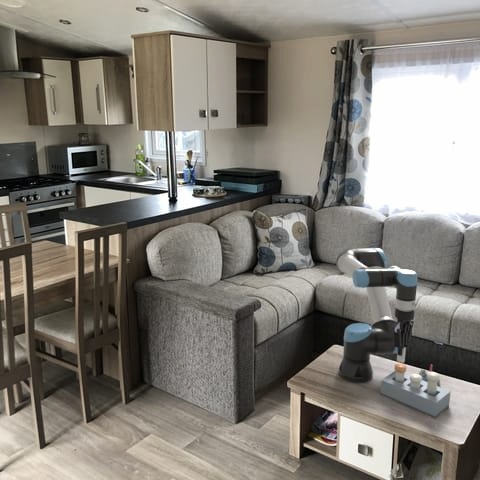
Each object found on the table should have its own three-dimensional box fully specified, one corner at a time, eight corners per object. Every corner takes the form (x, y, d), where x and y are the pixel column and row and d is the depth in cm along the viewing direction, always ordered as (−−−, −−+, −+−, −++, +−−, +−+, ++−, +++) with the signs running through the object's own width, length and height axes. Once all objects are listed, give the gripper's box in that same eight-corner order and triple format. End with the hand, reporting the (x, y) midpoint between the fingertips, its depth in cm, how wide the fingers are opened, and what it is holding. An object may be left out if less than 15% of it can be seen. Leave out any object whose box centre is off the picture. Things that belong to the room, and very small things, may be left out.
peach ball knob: (391, 385, 211) (392, 366, 209) (396, 381, 214) (398, 362, 212) (401, 389, 208) (402, 370, 206) (406, 385, 211) (408, 366, 209)
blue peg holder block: (380, 394, 211) (381, 379, 210) (395, 384, 219) (396, 370, 218) (435, 418, 194) (436, 402, 193) (448, 406, 202) (450, 391, 201)
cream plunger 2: (423, 394, 201) (424, 374, 199) (428, 390, 204) (430, 370, 202) (434, 399, 197) (436, 378, 195) (439, 394, 201) (441, 374, 198)
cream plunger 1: (406, 395, 207) (407, 376, 204) (411, 391, 210) (413, 372, 208) (416, 400, 203) (418, 380, 201) (422, 395, 206) (424, 376, 204)
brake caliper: (447, 391, 209) (430, 368, 209) (424, 402, 213) (407, 379, 213) (446, 378, 219) (430, 356, 219) (423, 389, 224) (407, 367, 224)
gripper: (405, 315, 196) (400, 370, 202) (421, 306, 205) (416, 359, 210) (388, 309, 201) (384, 363, 207) (404, 301, 210) (400, 353, 216)
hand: (400, 361), depth 209 cm, fingers closed
